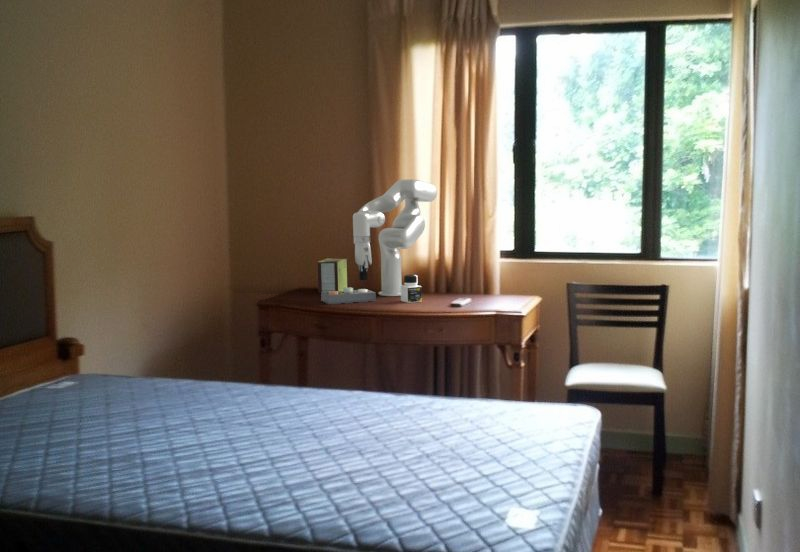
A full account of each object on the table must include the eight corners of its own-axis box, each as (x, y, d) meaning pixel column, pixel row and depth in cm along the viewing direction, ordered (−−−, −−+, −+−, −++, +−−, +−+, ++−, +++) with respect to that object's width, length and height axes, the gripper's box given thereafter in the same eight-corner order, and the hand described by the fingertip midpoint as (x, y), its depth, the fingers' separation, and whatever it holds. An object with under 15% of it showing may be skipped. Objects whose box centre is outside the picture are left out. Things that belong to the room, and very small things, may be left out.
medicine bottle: (408, 303, 385) (407, 276, 383) (400, 301, 391) (400, 274, 390) (422, 301, 388) (421, 275, 387) (414, 299, 394) (414, 273, 393)
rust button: (336, 297, 393) (336, 290, 393) (339, 298, 389) (339, 291, 389) (327, 298, 392) (327, 291, 391) (330, 299, 388) (330, 292, 387)
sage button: (351, 294, 396) (351, 287, 395) (354, 295, 392) (354, 288, 391) (342, 294, 394) (342, 287, 394) (345, 295, 390) (345, 288, 390)
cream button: (365, 295, 398) (365, 288, 398) (369, 296, 394) (369, 289, 394) (356, 296, 397) (356, 289, 396) (360, 297, 393) (359, 290, 392)
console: (366, 297, 403) (366, 289, 402) (375, 301, 392) (375, 292, 391) (321, 301, 395) (321, 292, 394) (329, 304, 384) (329, 295, 383)
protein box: (347, 289, 434) (346, 258, 432) (338, 293, 419) (337, 261, 417) (327, 289, 437) (326, 258, 435) (317, 293, 422) (316, 261, 420)
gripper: (375, 240, 387) (377, 281, 390) (364, 238, 401) (365, 277, 403) (359, 241, 384) (361, 282, 387) (348, 239, 398) (350, 278, 401)
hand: (363, 279), depth 395 cm, fingers closed
